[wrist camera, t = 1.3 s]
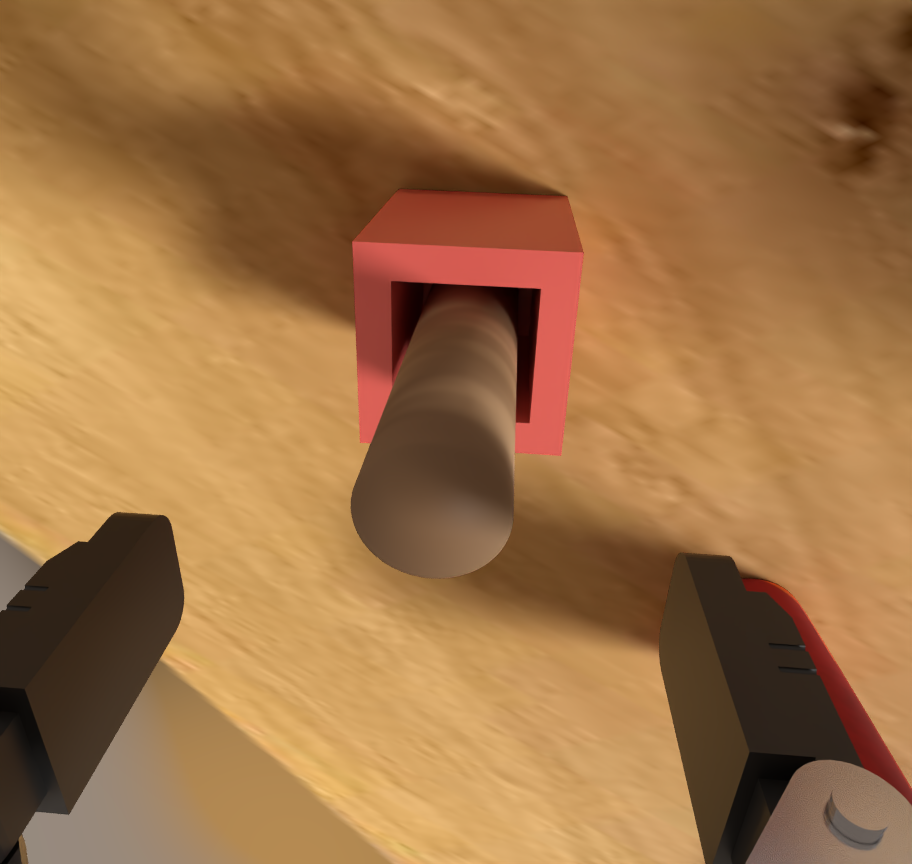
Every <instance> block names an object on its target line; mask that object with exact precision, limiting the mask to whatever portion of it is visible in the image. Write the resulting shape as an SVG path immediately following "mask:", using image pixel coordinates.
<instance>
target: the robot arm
mask: <svg viewBox="0 0 912 864" xmlns="http://www.w3.org/2000/svg"><path fill="white" fill-rule="evenodd" d="M183 606H184V589H183V583H182V578H181V573H180V568H179V562H178V557H177V552H176V547H175V541H174V536H173V531H172V526H171V523H170V521H169V519H168V518H167V517H166V516H164V515H152V514H137V513H123V512H117V513H114V514H113V515H111V516H110V517H109V518H108V519H107V520H106V522H105V523H104V524H103V525H102V526H101V527H100V529H99V530H98V531H97V532H96V533H95V534H94V536H93V537H92V538H91V539H90V540H89V541H88V542H80V541H78V542H77V543H75V544H73V545H72V546H70V547H69V548H67V549H65V550H64V551H62V552H61V553H59V554H57V555H56V556H54V557H53V558H51V559H49V560H48V561H46V563H45V564H44V565H43V566H42V567H41V568H40V569H39V570H38V571H37V572H36V574H35V575H34V576H33V577H32V578H31V579H30V580H29V581H28V582H27V583H26V585H25V589H24V590H20V591H19V592H18V593H17V594H16V596H15V597H14V598H13V599H12V600H11V601H10V602H9V603H8V604H7V609H6V610H2V611H1V612H0V864H28V857H27V849H26V844H25V840H24V838H23V835H22V833H23V831H24V829H25V828H26V826H27V824H28V823H29V821H30V820H31V818H32V816H33V815H34V813H35V812H46V813H57V814H68V815H69V814H70V812H71V810H72V809H73V807H74V805H75V803H76V802H77V800H78V798H79V797H80V795H81V793H82V792H83V790H84V788H85V786H86V785H87V783H88V781H89V779H90V778H91V776H92V774H93V773H94V771H95V769H96V767H97V766H98V764H99V762H100V760H101V759H102V757H103V755H104V754H105V752H106V750H107V749H108V747H109V745H110V743H111V742H112V740H113V738H114V737H115V734H116V733H117V731H118V730H119V728H120V726H121V725H122V723H123V721H124V719H125V717H126V716H127V714H128V713H129V711H130V709H131V707H132V706H133V704H134V702H135V700H136V698H137V697H138V695H139V694H140V692H141V690H142V688H143V687H144V685H145V683H146V682H147V680H148V678H149V676H150V675H151V673H152V671H153V669H154V668H155V666H156V664H157V663H158V661H159V659H160V658H161V656H162V654H163V652H164V651H165V649H166V647H167V645H168V644H169V642H170V640H171V639H172V637H173V635H174V633H175V632H176V630H177V628H178V625H179V623H180V620H181V616H182V612H183ZM659 657H660V666H661V671H662V676H663V680H664V685H665V689H666V693H667V698H668V702H669V706H670V711H671V715H672V719H673V724H674V728H675V733H676V737H677V741H678V746H679V750H680V754H681V759H682V763H683V767H684V772H685V776H686V781H687V785H688V789H689V794H690V798H691V802H692V807H693V811H694V815H695V820H696V824H697V828H698V833H699V837H700V842H701V846H702V850H703V855H704V859H705V863H706V864H912V805H911V804H910V803H909V802H908V801H907V799H906V798H905V797H904V796H903V795H902V794H901V793H900V792H898V791H897V790H896V789H895V788H894V787H893V786H891V785H890V784H889V783H888V782H886V781H885V780H883V779H882V778H880V777H879V776H877V775H875V774H874V773H872V772H870V771H868V770H866V769H865V768H864V767H863V765H862V763H861V761H860V758H859V756H858V754H857V752H856V750H855V748H854V746H853V744H852V742H851V740H850V738H849V735H848V733H847V731H846V729H845V727H844V725H843V723H842V721H841V719H840V717H839V715H838V712H837V710H836V708H835V706H834V704H833V702H832V700H831V698H830V696H829V694H828V692H827V690H826V687H825V685H824V683H823V681H822V679H821V677H820V675H817V669H816V667H815V664H814V662H813V660H812V658H811V656H810V654H809V652H808V651H806V650H805V644H804V641H803V639H802V637H801V635H800V633H799V631H798V629H797V627H796V625H795V623H794V621H793V618H792V617H791V616H790V615H789V614H788V613H787V612H786V611H785V610H784V609H783V608H782V607H781V606H780V605H779V604H778V603H777V602H776V601H775V600H774V599H773V598H772V597H771V596H770V595H769V594H767V593H766V592H754V591H746V588H745V586H744V584H743V581H742V579H741V577H740V574H739V572H738V569H737V567H736V565H735V562H734V560H733V559H732V558H731V557H730V556H721V555H707V554H692V553H679V554H678V556H677V558H676V560H675V564H674V568H673V573H672V577H671V582H670V587H669V591H668V596H667V600H666V605H665V610H664V614H663V619H662V623H661V629H660V637H659Z"/></svg>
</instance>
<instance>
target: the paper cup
mask: <svg viewBox="0 0 912 864" xmlns="http://www.w3.org/2000/svg"><path fill="white" fill-rule="evenodd" d="M742 581H743V584H744V586H745V588H746V591H754V592H766V593H767V594H769V595H770V596H771V597H772V598H773V599H774V600H775V601H776V602H777V603H778V604H779V605H780V606H781V607H782V608H783V609H784V610H785V611H786V612H787V613H788V614H789V615H790V616H791V617H792V618H793V621H794V623H795V625H796V627H797V629H798V631H799V633H800V635H801V637H802V639H803V641H804V644H805V650H806V651H808V652H809V654H810V656H811V658H812V660H813V662H814V664H815V667H816V669H817V675H820V677H821V679H822V681H823V683H824V685H825V687H826V690H827V692H828V694H829V696H830V698H831V700H832V702H833V704H834V706H835V708H836V710H837V712H838V715H839V717H840V719H841V721H842V723H843V725H844V727H845V729H846V731H847V733H848V735H849V738H850V740H851V742H852V744H853V746H854V748H855V750H856V752H857V754H858V756H859V758H860V761H861V763H862V765H863V767H864V768H865V769H866V770H868V771H870V772H872V773H874V774H875V775H877V776H879V777H880V778H882V779H883V780H885V781H886V782H888V783H889V784H890V785H891V786H893V787H894V788H895V789H896V790H897V791H898V792H900V793H901V794H902V795H903V796H904V797H905V798H906V799H907V801H908V802H909V803H910V804H911V805H912V788H911V786H910V785H909V783H908V781H907V780H906V778H905V776H904V775H903V773H902V771H901V770H900V768H899V766H898V765H897V763H896V761H895V760H894V758H893V756H892V755H891V753H890V751H889V750H888V748H887V746H886V745H885V743H884V741H883V740H882V738H881V736H880V734H879V733H878V731H877V729H876V728H875V726H874V724H873V723H872V721H871V719H870V718H869V716H868V714H867V713H866V711H865V709H864V708H863V706H862V704H861V703H860V701H859V699H858V698H857V696H856V694H855V693H854V691H853V689H852V688H851V686H850V684H849V683H848V681H847V679H846V678H845V676H844V674H843V673H842V671H841V669H840V668H839V666H838V664H837V663H836V661H835V660H834V658H833V656H832V655H831V653H830V651H829V650H828V648H827V646H826V645H825V643H824V641H823V640H822V638H821V637H820V635H819V633H818V632H817V630H816V628H815V627H814V625H813V624H812V622H811V621H810V619H809V617H808V616H807V614H806V613H805V611H804V610H803V608H802V607H801V605H800V604H799V603H798V601H797V600H796V599H795V598H794V596H793V595H792V594H791V593H790V592H788V591H787V590H786V589H784V588H783V587H781V586H779V585H777V584H775V583H772V582H769V581H765V580H761V579H751V578H743V579H742Z"/></svg>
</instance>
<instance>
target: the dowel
mask: <svg viewBox="0 0 912 864" xmlns="http://www.w3.org/2000/svg"><path fill="white" fill-rule="evenodd" d="M518 295H519V288H517V287H498V286H478V285H459V284H440V283H433V284H432V287H431V289H430V292H429V294H428V297H427V299H426V302H425V305H424V307H423V310H422V312H421V315H420V318H419V320H418V323H417V325H416V328H415V330H414V333H413V336H412V338H411V341H410V343H409V346H408V349H407V351H406V354H405V356H404V359H403V361H402V364H401V367H400V369H399V372H398V374H397V377H396V380H395V382H394V385H393V387H392V390H391V392H390V395H389V398H388V400H387V403H386V405H385V408H384V411H383V413H382V416H381V418H380V421H379V423H378V426H377V429H376V431H375V434H374V436H373V439H372V442H371V444H370V447H369V449H368V452H367V454H366V457H365V460H364V462H363V465H362V467H361V470H360V473H359V475H358V478H357V480H356V483H355V486H354V488H353V492H352V497H351V514H352V519H353V523H354V526H355V528H356V531H357V533H358V535H359V536H360V538H361V540H362V541H363V543H364V544H365V545H366V546H367V548H368V549H369V550H370V551H371V552H372V553H373V554H374V555H375V556H376V557H378V558H379V559H380V560H382V561H383V562H384V563H386V564H388V565H389V566H391V567H393V568H395V569H397V570H399V571H401V572H404V573H407V574H410V575H414V576H418V577H424V578H439V579H441V578H452V577H457V576H462V575H465V574H468V573H471V572H473V571H475V570H478V569H479V568H481V567H483V566H484V565H486V564H487V563H489V562H490V561H491V560H493V559H494V558H495V557H496V556H497V555H498V554H499V553H500V551H501V550H502V548H503V547H504V546H505V544H506V542H507V540H508V538H509V536H510V533H511V530H512V525H513V512H514V469H515V426H516V382H517V339H518Z"/></svg>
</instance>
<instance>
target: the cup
mask: <svg viewBox="0 0 912 864" xmlns="http://www.w3.org/2000/svg"><path fill="white" fill-rule="evenodd" d="M352 247H353V273H354V298H355V324H356V350H357V375H358V401H359V426H360V443H371V442H372V439H373V436H374V434H375V431H376V429H377V426H378V423H379V421H380V418H381V416H382V413H383V411H384V408H385V405H386V403H387V400H388V398H389V395H390V392H391V390H392V387H393V385H394V382H395V380H396V377H397V374H398V372H399V369H400V367H401V364H402V361H403V359H404V356H405V354H406V351H407V349H408V346H409V343H410V341H411V338H412V336H413V333H414V330H415V328H416V325H417V323H418V320H419V318H420V315H421V312H422V310H423V307H424V305H425V302H426V299H427V297H428V294H429V292H430V289H431V287H432V284H433V283H440V284H459V285H478V286H498V287H517V288H519V295H518V339H517V382H516V426H515V453H528V454H543V455H558V456H561V452H562V443H563V434H564V425H565V416H566V407H567V398H568V389H569V380H570V371H571V362H572V353H573V344H574V335H575V326H576V317H577V308H578V299H579V290H580V281H581V272H582V263H583V254H584V252H583V249H582V245H581V242H580V238H579V235H578V232H577V228H576V225H575V221H574V218H573V214H572V211H571V207H570V204H569V200H568V197H567V196H552V195H529V194H507V193H484V192H461V191H438V190H415V189H398V190H397V191H396V193H395V194H394V195H393V196H392V197H391V198H390V199H389V200H388V202H387V203H386V204H385V205H384V206H383V207H382V208H381V210H380V211H379V212H378V213H377V214H376V215H375V216H374V217H373V219H372V220H371V221H370V222H369V223H368V224H367V225H366V227H365V228H364V229H363V230H362V231H361V232H360V233H359V234H358V236H357V237H356V238H355V239H354V240H353V241H352Z"/></svg>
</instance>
